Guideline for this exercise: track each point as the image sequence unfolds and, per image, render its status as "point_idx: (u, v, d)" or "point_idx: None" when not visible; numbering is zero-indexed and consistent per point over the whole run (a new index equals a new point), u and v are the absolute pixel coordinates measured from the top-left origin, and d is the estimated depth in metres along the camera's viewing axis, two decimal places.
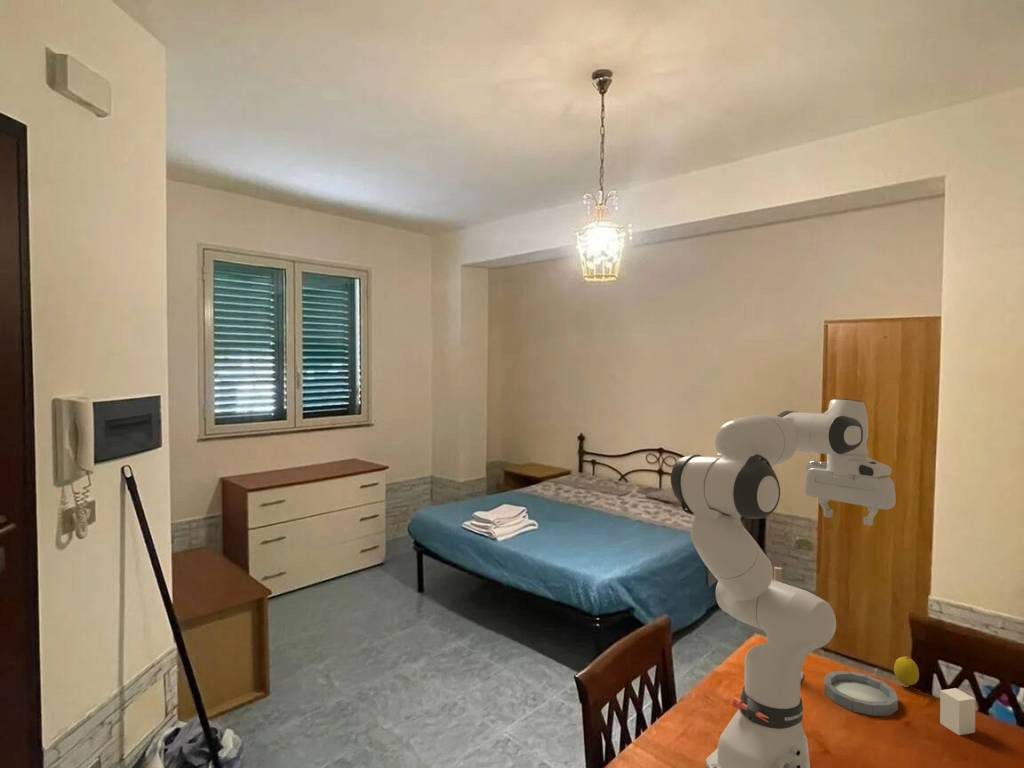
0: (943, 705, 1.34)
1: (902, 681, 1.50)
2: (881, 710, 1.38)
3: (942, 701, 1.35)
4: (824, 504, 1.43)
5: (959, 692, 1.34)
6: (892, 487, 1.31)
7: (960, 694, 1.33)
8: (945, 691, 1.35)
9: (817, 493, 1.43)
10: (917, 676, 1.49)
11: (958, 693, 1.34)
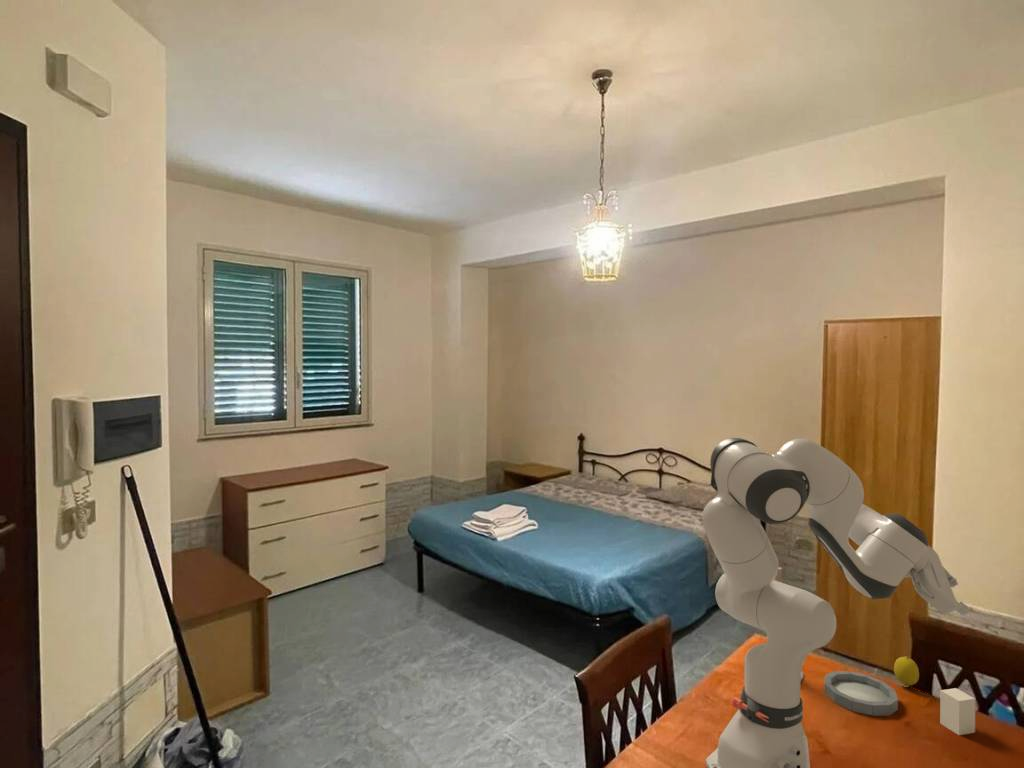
0: (943, 705, 1.34)
1: (902, 681, 1.50)
2: (881, 710, 1.38)
3: (942, 701, 1.35)
4: None
5: (959, 692, 1.34)
6: None
7: (960, 694, 1.33)
8: (945, 691, 1.35)
9: (951, 594, 1.21)
10: (917, 676, 1.49)
11: (958, 693, 1.34)
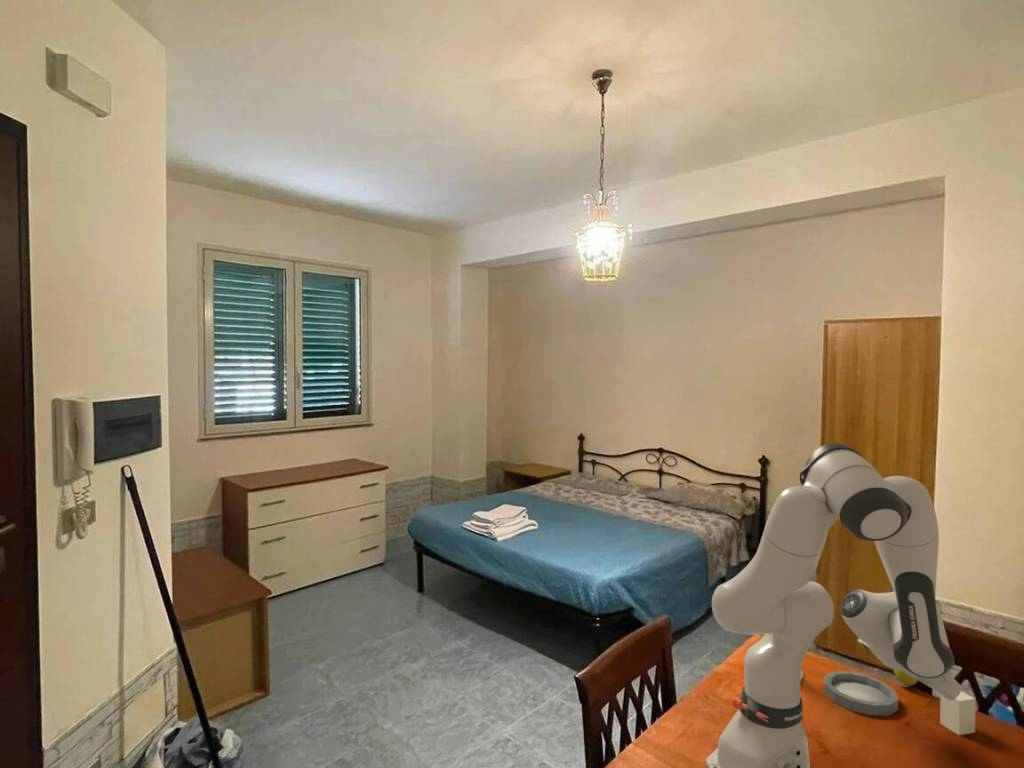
0: (943, 705, 1.34)
1: (902, 681, 1.50)
2: (881, 710, 1.38)
3: (942, 701, 1.35)
4: None
5: None
6: None
7: (960, 694, 1.33)
8: None
9: None
10: None
11: None
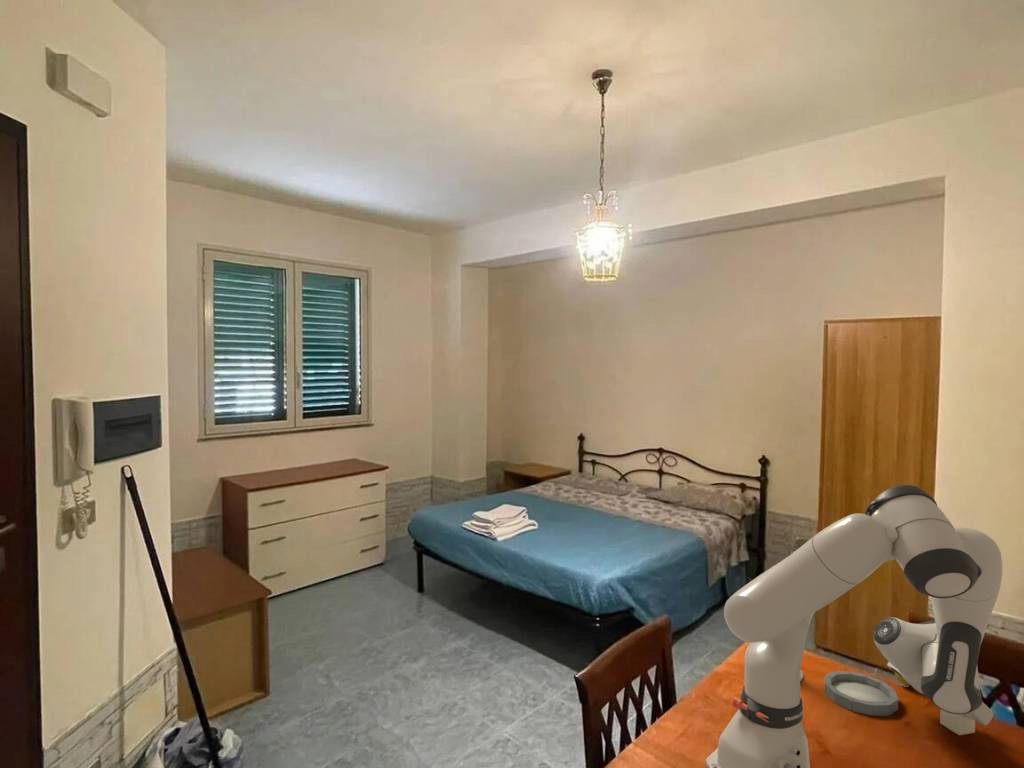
0: None
1: (902, 681, 1.50)
2: (881, 710, 1.38)
3: None
4: None
5: None
6: None
7: None
8: None
9: None
10: None
11: None
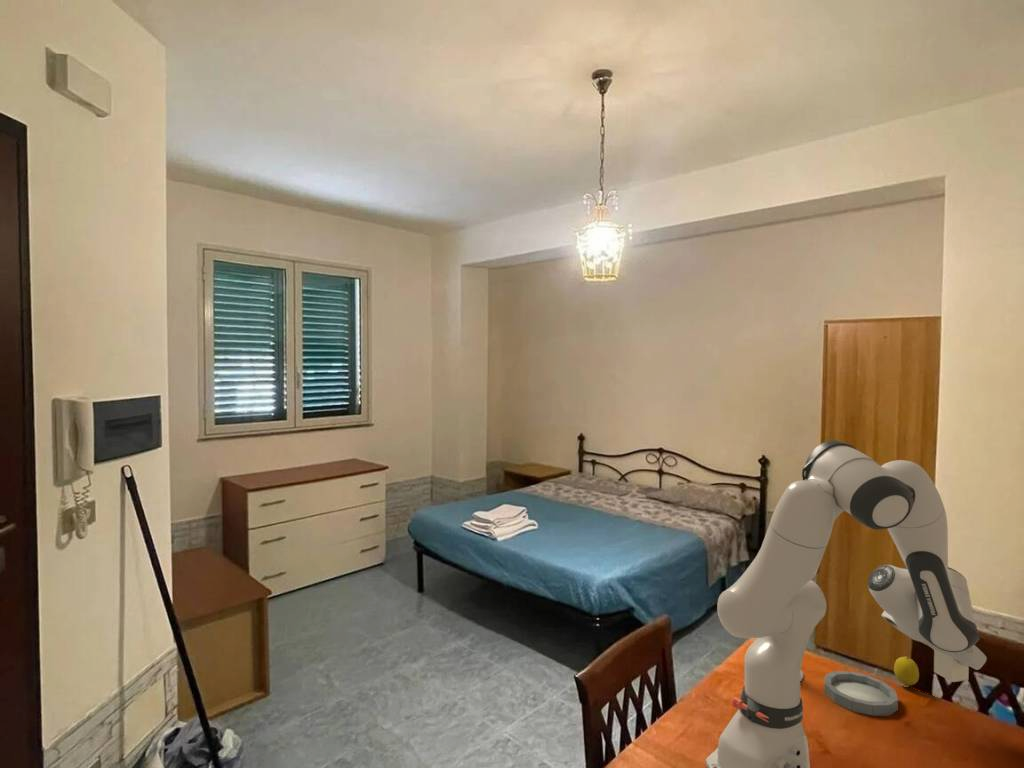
0: (937, 653, 1.35)
1: (902, 681, 1.50)
2: (881, 710, 1.38)
3: (936, 650, 1.35)
4: None
5: None
6: None
7: None
8: None
9: None
10: (917, 676, 1.49)
11: None
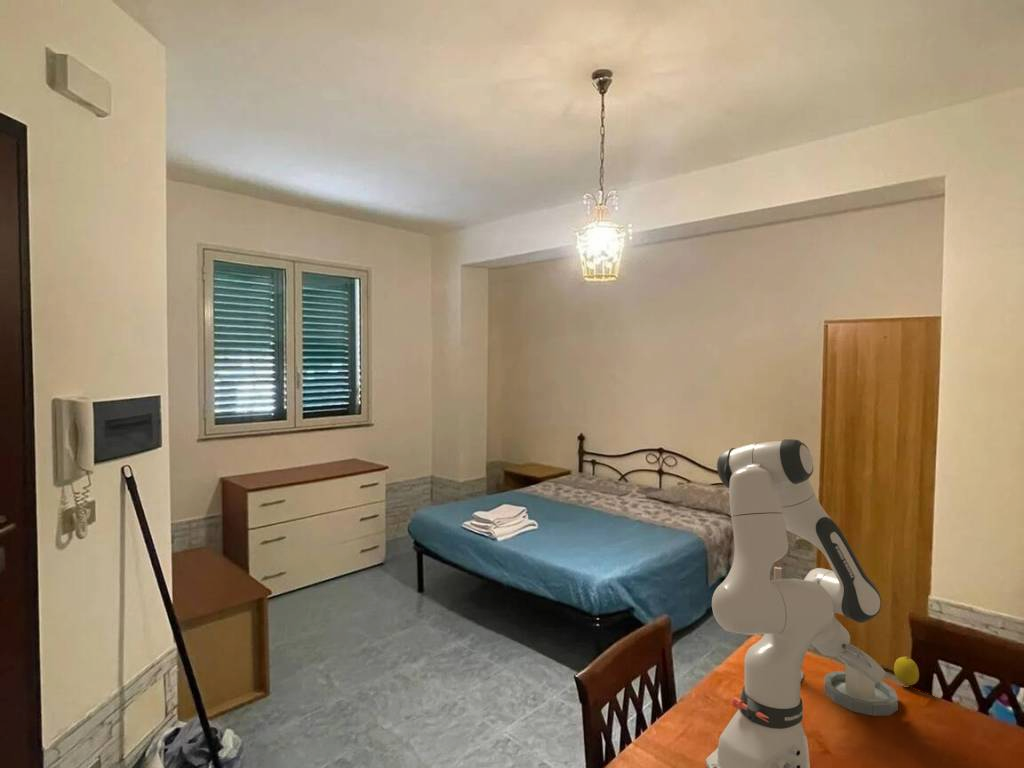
0: (847, 673, 1.47)
1: (902, 681, 1.50)
2: (881, 710, 1.38)
3: (847, 670, 1.48)
4: None
5: None
6: None
7: None
8: None
9: None
10: (917, 676, 1.49)
11: None
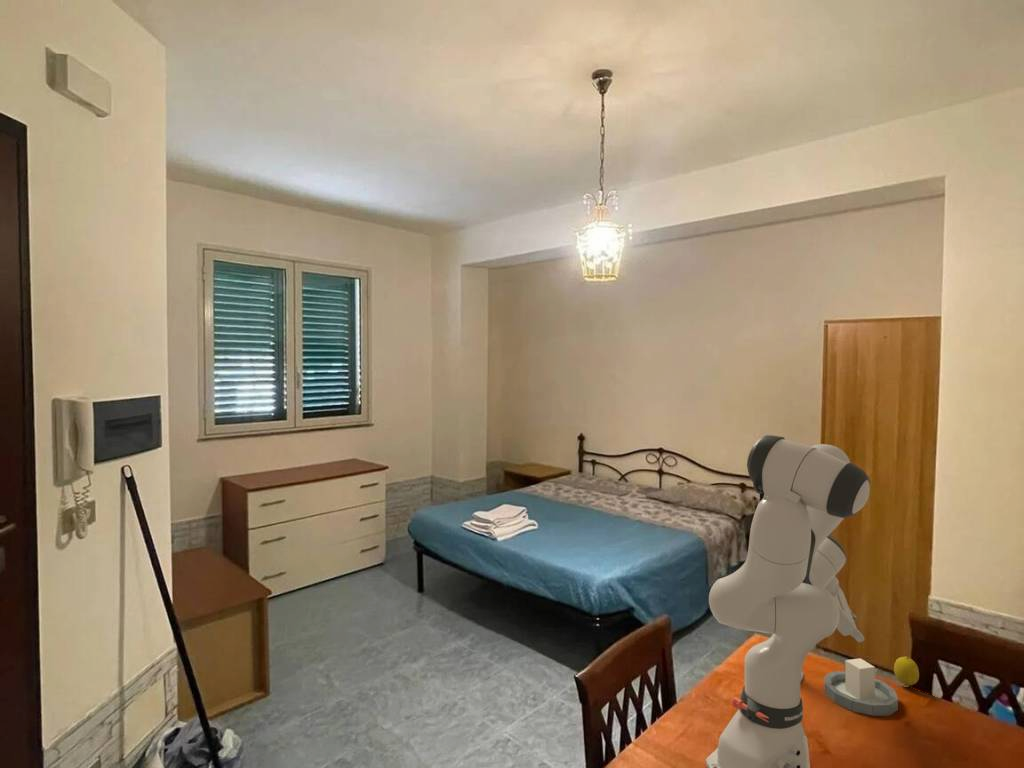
0: (847, 673, 1.47)
1: (902, 681, 1.50)
2: (881, 710, 1.38)
3: (847, 670, 1.48)
4: None
5: (862, 661, 1.47)
6: None
7: (862, 663, 1.46)
8: (849, 661, 1.48)
9: (852, 619, 1.36)
10: (917, 676, 1.49)
11: (861, 662, 1.47)
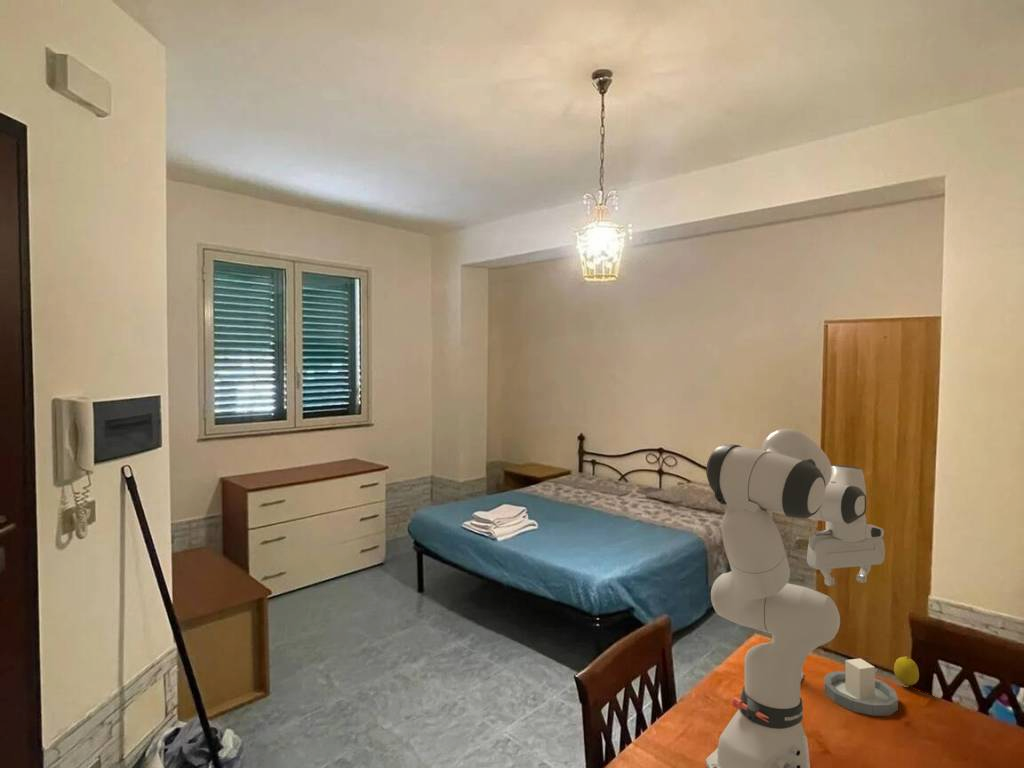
0: (847, 673, 1.47)
1: (902, 681, 1.50)
2: (881, 710, 1.38)
3: (847, 670, 1.48)
4: None
5: (862, 661, 1.47)
6: None
7: (862, 663, 1.46)
8: (849, 661, 1.48)
9: (828, 564, 1.39)
10: (917, 676, 1.49)
11: (861, 662, 1.47)
